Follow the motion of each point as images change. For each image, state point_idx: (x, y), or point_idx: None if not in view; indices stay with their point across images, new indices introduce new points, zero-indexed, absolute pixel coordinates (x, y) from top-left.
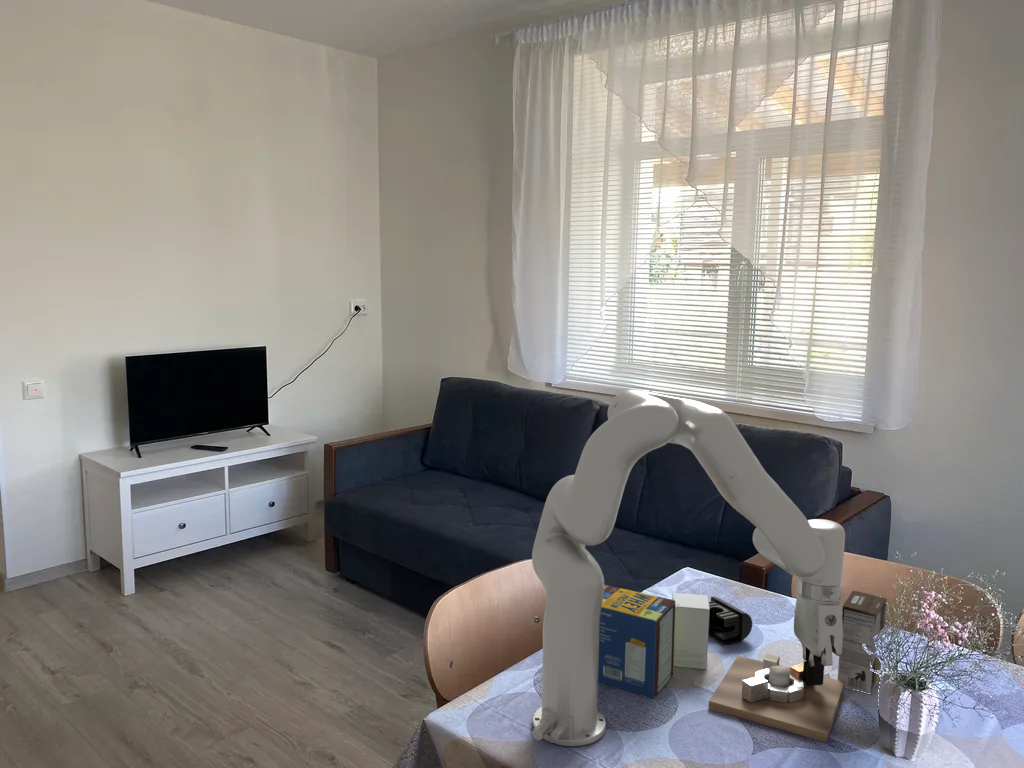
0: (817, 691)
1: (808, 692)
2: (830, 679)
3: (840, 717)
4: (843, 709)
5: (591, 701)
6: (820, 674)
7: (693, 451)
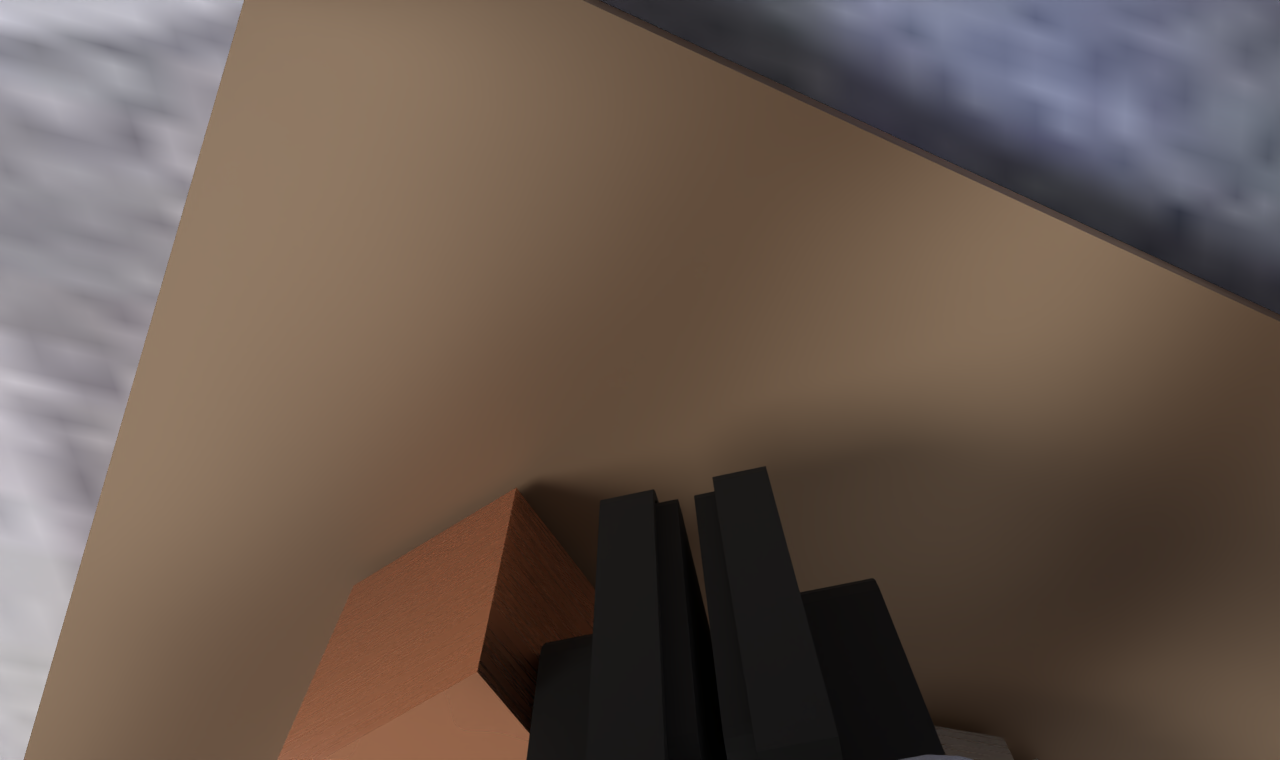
0: None
1: None
2: (261, 142)
3: (1248, 210)
4: (1018, 93)
5: None
6: (912, 689)
7: None
